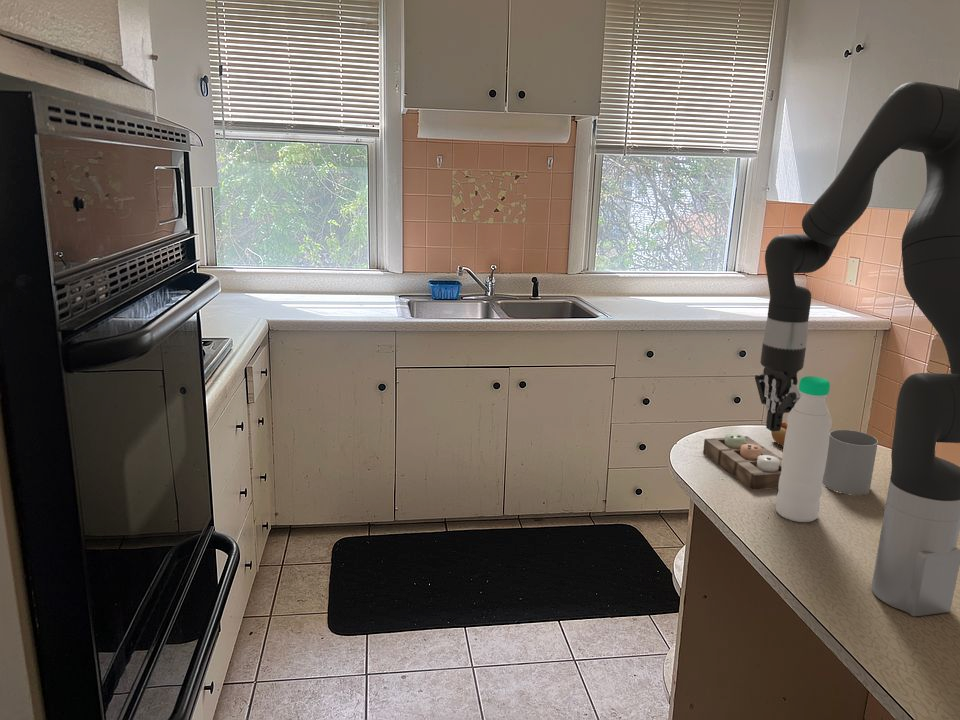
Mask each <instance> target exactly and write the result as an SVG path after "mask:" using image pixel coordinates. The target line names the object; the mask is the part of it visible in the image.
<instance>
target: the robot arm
mask: <svg viewBox="0 0 960 720" xmlns="http://www.w3.org/2000/svg"><path fill="white" fill-rule="evenodd" d="M899 149H900V150H905V151H910V152H911V151H912V152H916V153H922V154H923V157H924V160H925V166H926V187H925V192H924V194H923V197H922V198H921V200H920V202H919V204H918V206H917V207H916V209H915V210H914V212H913V214H912V216H911V217H910V219H909V220H908V222H907V225H906V227H905V229H904V231H903V233H902V238H901V258H902V259H901V261H902V273H903V274H902V276H903V282H904V287H905V289H906V291H907V292H908V294H909V296H910V298H911V299H912V300H913V302H914V304H915V305H916V306H917V307H918V308H919V310H920V311H921V313H923V315H924V317H926V318H925V319H927V320H928V321H929V323H930V324H931V325H932V327H933V328H934V329H935V331H936V332H937V334H938V336H939V337H940V338H941V341H942V343H943V345H944V349H945V350H946V354H947V358H948V364H949V368H950V373H935V372H932V373H931V372H919V373H918V372H917V373H916V372H915V373H913V374H911V375H909V376H908V377H906V379H905V380H904V381H903V383H902V385H901V388H900V390H899V392H898V397H897V401H896V410H895V419H894V431H893V438H892V446H891V472H890V478H889V483H888V490H887V496H886V501H885V507H884V512H883V518H882V524H881V528H880V535H879V540H878V546H877V551H876V557H875V564H874V570H873V574H872V581H871V586H870V587H871V588H870V589H871V591H872V593H873V594H874V596H875V597H877V598H878V599H879V600H881V602H883V603H885V604H886V605H888V606H891V607H892V608H895V609H897V610H900V611H902V612H906V613H907V614H909V615H910V616H912V617H920V616H929V615H935V614H943V613H950V612H951V608H952V604H953V599H954V594H955V589H956V586H957V580H958V575H959V570H960V548H958V547H957V546H958V541H959V536H960V466H958V465H957V464H955V463H953V462H950V461H949V460H946V459H943V458H941V457H937V456H936V446H937V443H947V444H960V89H958V88H953V87H950V86H943V85H939V84H934V83H929V82H925V81H923V82H922V81H908V82H906V83H903V84H901V85H900V86H898V87H896V88H895V89H894V90H892V92H891V93H890V95H888V97H887V98H886V99H885V100H884V101H883V103H882V104H881V106H880V108H878V110H877V112H876V113H875V114H874V116H873V118H872V119H871V121H870V123H869V124H868V126H867V128H866V130H865V131H864V132H863V134H862V135H861V137H860V139H859V140H858V142H857V143H856V145H855V147H854V149H853V150H852V152H851V154H850V155H849V156H848V159H847V160H846V162H845V163H844V165H843V167H842V168H841V170H840V172H838V174H837V176H835V178H834V179H833V181H832V182H831V183H830V184H829V186H828V187H827V189H825V191H824V192H822V194H821V195H820V196H819V197H818V198H817V200H816V201H815V202H814V203H813V204H812V206H811V207H810V208H809V209H808V210H807V211H806V213H805V214H804V215H803V217H802V221H801V228H802V231H803V232H804V233H789V234H788V233H787V234H786V233H785V234H779V235H776V236H774V237H773V238H772V239H771V240H770V242H768V245H767V246H766V250H765V254H764V264H765V265H764V266H765V271H766V278H767V283H768V290H769V303H768V309H767V310H768V311H767V318H766V322H765V326H764V329H763V330H764V331H763V339H762V348H761V352H760V353H761V354H760V366H762V367H763V370H762V371H763V372H762V373H761V374H756V375H755V376H754V380H755V385H756V389H757V392H758V395H759V399H760V403H761V404H762V405H765V410H767V414H766V422H765V423H766V425H765V429H768V430H769V431H770V432H771V431H779V430H780V429H781V426H782V422H783V418H784V414H787V413H788V414H789V412H790V411H791V410H792V408H793V407H794V405H795V403H796V402H797V401H798V400H799V399H800V397H801V394H800V393H799V388H798V386H797V385H798V383H799V382H798V380H799V379H798V373H799V372H800V371H801V370H803V368H804V365H805V357H806V352H807V351H806V350H807V349H806V348H807V344H808V343H807V342H808V335H809V319H810V317H809V316H810V311H811V306H812V305H811V304H812V293H811V291H810V290H809V288H806V287H804V286H801V285H800V286H799V285H797V284H796V281H795V274H809V273H810V274H811V273H813V272H816V271H818V270H820V269H821V268H822V267H825V266H826V264H827V263H828V261H830V258H831V256H832V254H833V253H834V251H835V249H836V248H837V245H838V243H839V241H840V239H841V237H842V236H843V235H845V233H846V232H847V231H848V230H849V229H850V228H851V227H852V226H853V225H854V224H855V223H856V222H858V220H859V219H860V218H861V216H862V215H863V214H864V213H865V211H866V210H867V208H868V206H869V205H870V204H869V203H870V202H871V198H872V194H873V188H874V182H875V176H876V173H877V171H878V169H879V168H880V167H881V165H882V164H883V163H884V162H885V161H886V160H887V159H888V158H889V157H890V156H892V154H893V153H895V152H896V151H897V150H899Z"/></svg>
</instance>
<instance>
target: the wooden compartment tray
mask: <svg viewBox="0 0 960 720" xmlns="http://www.w3.org/2000/svg"><path fill="white" fill-rule="evenodd" d="M743 436H744V435H743ZM744 437H745V438H746V439H745V444H754V445H757V446H760V447H761V448H762V453H761V455H770V456H774V457H776V458H778V459H779V460H780V462H779V470H778V471H774V472H762V471H761V470H760V469H758V468H757V459H754V460H745V459H744V458H743V457H741V456H740V450H741V448H735V449H730V448H728V447H727V446H726V445H724V444H725V437H717V438H715V437H714V438H704V441H703V442H704V443H703V453H704V454H705V455H706V456H707V457H709V458H710V459H712V460H713V461H714V462H715V463H717V464H718V465H719V466H721V467H722V468H723V469H724V470H726V471H727V472H729V473H730V475H732V476H734V477H735V478H736V479H738V480H739V481H740V482H742V483H743V484H744V485H745V486H747V487H748V488H750V489H751V490H752V491H757V490H768V489H779V487H778V486H779V478H780V475H781V469H782V457H780V456H778V455H777V454H775V453H774V452H772V451H771V450H769V449H768V448H766V447H764V446H763V445H762V444H760V443H758V442H757V441H756V440H754V439H752V438H751V437H749V436H747V435H746V436H744Z"/></svg>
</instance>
